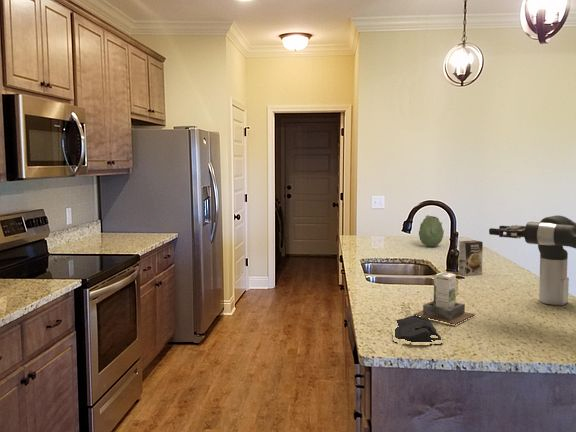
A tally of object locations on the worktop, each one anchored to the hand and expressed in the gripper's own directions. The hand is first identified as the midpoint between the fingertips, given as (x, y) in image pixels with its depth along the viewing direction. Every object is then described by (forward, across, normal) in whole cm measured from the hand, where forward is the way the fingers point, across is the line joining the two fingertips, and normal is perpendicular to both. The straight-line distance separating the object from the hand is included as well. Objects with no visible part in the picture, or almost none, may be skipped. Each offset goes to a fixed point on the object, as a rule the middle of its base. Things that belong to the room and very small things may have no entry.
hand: (494, 229), depth 178 cm
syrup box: (+10, -18, -29) cm, 36 cm away
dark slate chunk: (+8, -40, -31) cm, 51 cm away
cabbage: (+87, +107, -30) cm, 141 cm away
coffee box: (+33, +50, -30) cm, 67 cm away
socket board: (+10, -18, -30) cm, 36 cm away
